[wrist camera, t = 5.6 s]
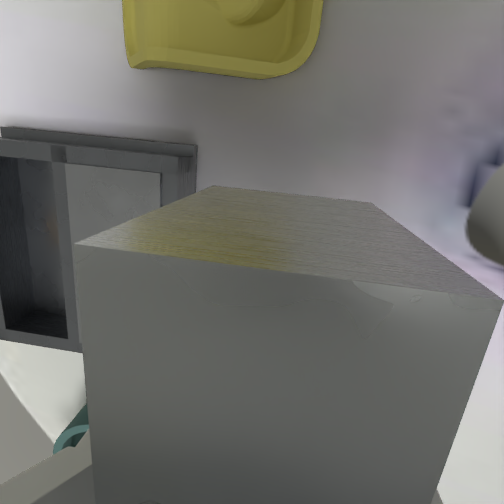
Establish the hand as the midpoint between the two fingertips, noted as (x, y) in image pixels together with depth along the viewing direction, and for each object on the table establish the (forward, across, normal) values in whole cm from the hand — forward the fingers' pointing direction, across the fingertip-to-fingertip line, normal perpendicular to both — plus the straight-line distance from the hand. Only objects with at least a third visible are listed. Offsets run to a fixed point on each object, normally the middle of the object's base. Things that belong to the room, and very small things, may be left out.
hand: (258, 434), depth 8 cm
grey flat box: (+17, +14, +2) cm, 22 cm away
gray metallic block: (+2, 0, 0) cm, 2 cm away
